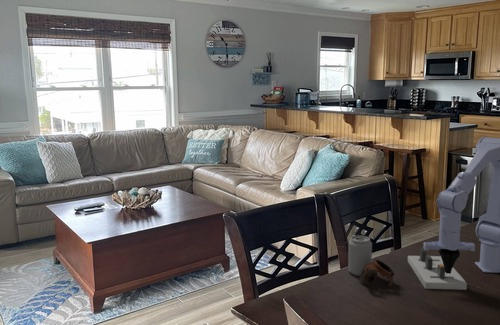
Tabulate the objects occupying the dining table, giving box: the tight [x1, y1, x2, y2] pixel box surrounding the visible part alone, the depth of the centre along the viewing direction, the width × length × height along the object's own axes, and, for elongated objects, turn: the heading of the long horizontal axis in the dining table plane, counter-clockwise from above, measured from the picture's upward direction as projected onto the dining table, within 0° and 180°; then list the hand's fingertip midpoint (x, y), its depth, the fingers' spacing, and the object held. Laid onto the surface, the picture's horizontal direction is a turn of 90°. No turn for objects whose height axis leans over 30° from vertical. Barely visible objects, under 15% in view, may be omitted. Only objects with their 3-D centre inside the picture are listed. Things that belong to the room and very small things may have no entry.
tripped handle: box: [437, 264, 445, 278], centre depth 137 cm, size 1×3×4 cm, turn 174°
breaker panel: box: [407, 248, 468, 291], centre depth 144 cm, size 12×22×6 cm, turn 174°
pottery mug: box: [359, 259, 395, 288], centre depth 137 cm, size 12×10×8 cm
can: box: [347, 235, 373, 277], centre depth 146 cm, size 8×8×12 cm
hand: (447, 272), depth 137 cm, fingers closed
